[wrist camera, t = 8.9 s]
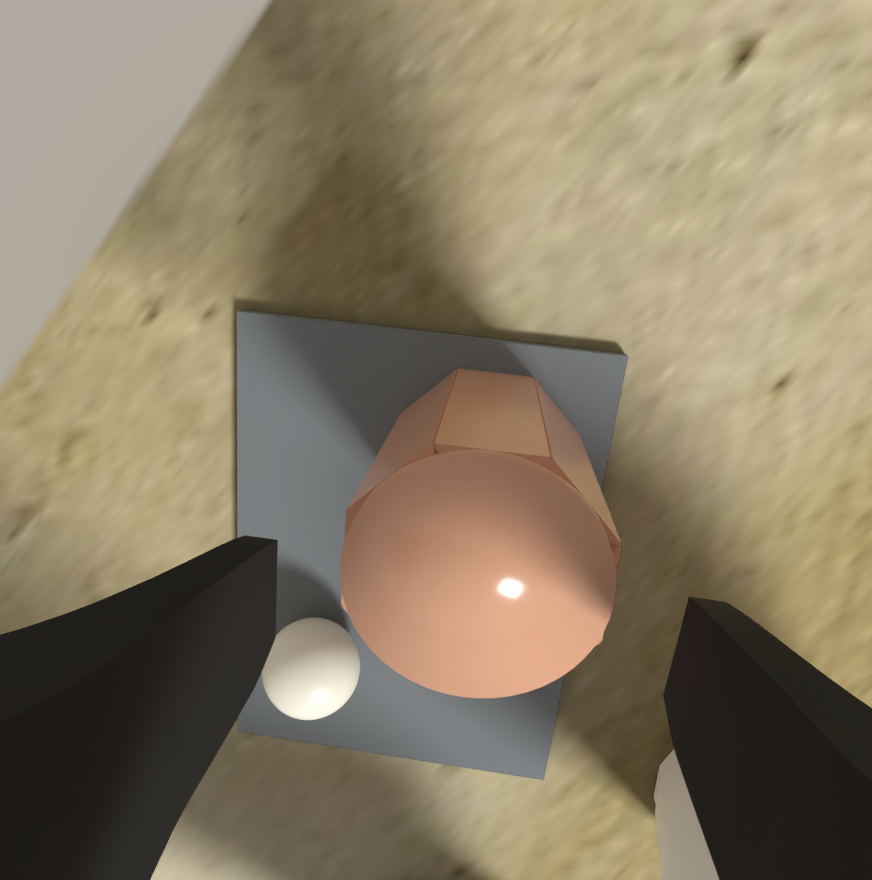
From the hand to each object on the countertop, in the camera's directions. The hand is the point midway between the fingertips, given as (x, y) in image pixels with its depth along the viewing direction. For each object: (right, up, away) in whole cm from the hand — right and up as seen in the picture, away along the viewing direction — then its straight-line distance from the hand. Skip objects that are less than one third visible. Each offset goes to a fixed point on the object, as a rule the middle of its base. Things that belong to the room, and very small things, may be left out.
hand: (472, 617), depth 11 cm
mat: (-2, -1, +9) cm, 9 cm away
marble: (-4, -3, +10) cm, 11 cm away
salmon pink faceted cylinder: (+1, +3, +7) cm, 8 cm away
